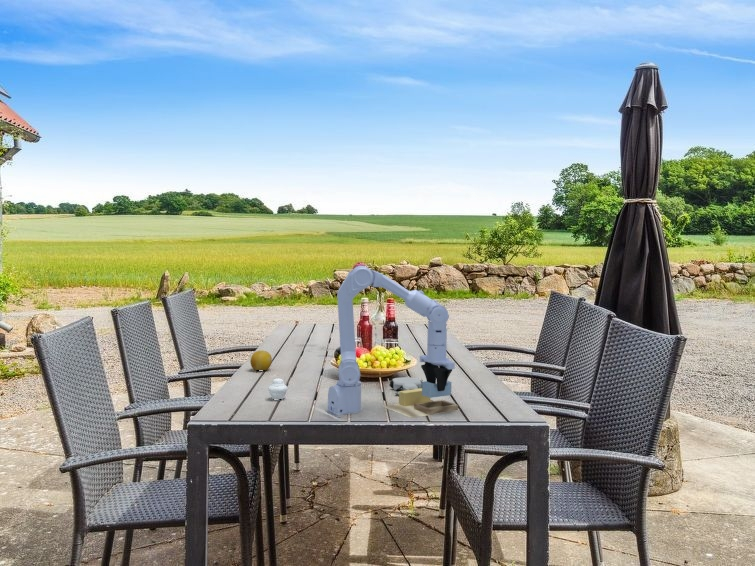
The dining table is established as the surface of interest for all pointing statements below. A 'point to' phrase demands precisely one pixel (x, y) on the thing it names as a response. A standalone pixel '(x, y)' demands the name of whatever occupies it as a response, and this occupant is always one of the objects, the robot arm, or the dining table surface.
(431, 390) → the blue notched block
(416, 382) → the robot toy
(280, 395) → the white lidded jar
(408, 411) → the jig
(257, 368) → the fruit
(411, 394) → the yellow rectangular block
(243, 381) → the dining table surface
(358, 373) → the robot arm
